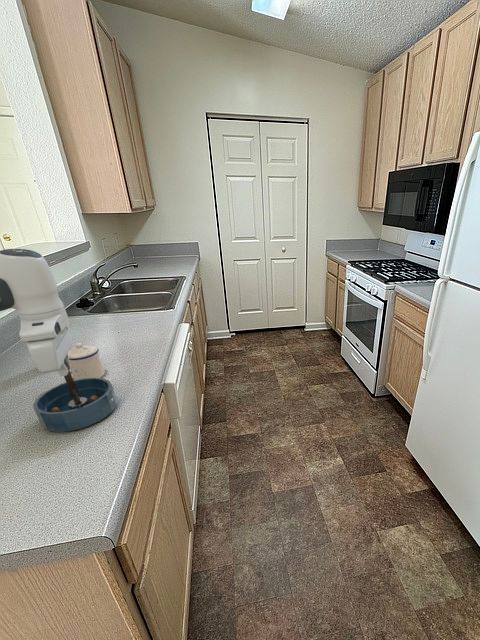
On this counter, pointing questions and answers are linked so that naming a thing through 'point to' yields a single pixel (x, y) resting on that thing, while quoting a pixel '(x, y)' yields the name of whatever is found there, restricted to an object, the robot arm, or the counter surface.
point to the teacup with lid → (85, 362)
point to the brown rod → (74, 392)
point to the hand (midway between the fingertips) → (65, 372)
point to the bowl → (81, 415)
